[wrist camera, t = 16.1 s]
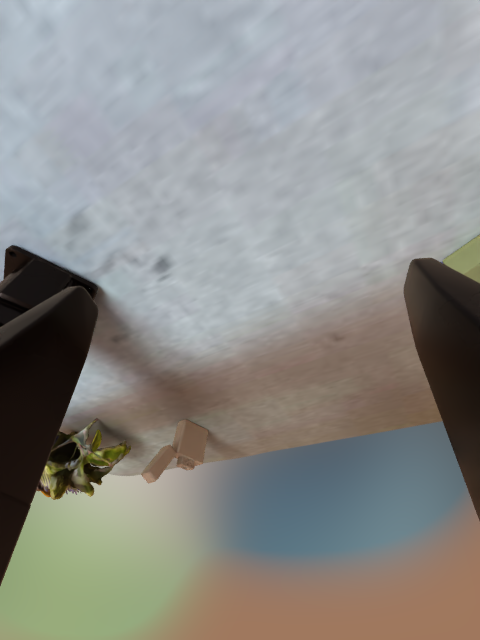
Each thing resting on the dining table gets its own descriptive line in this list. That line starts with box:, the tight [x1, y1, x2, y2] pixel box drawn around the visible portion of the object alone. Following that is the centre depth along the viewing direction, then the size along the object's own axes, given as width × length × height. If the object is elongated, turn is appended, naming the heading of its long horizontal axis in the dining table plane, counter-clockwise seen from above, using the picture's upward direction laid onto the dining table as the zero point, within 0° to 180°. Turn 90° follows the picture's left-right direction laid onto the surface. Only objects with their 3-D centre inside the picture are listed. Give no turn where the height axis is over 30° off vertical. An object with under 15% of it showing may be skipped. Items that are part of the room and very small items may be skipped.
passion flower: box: [36, 419, 131, 500], centre depth 42 cm, size 11×11×12 cm
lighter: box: [141, 419, 208, 483], centre depth 37 cm, size 7×2×8 cm, turn 45°
